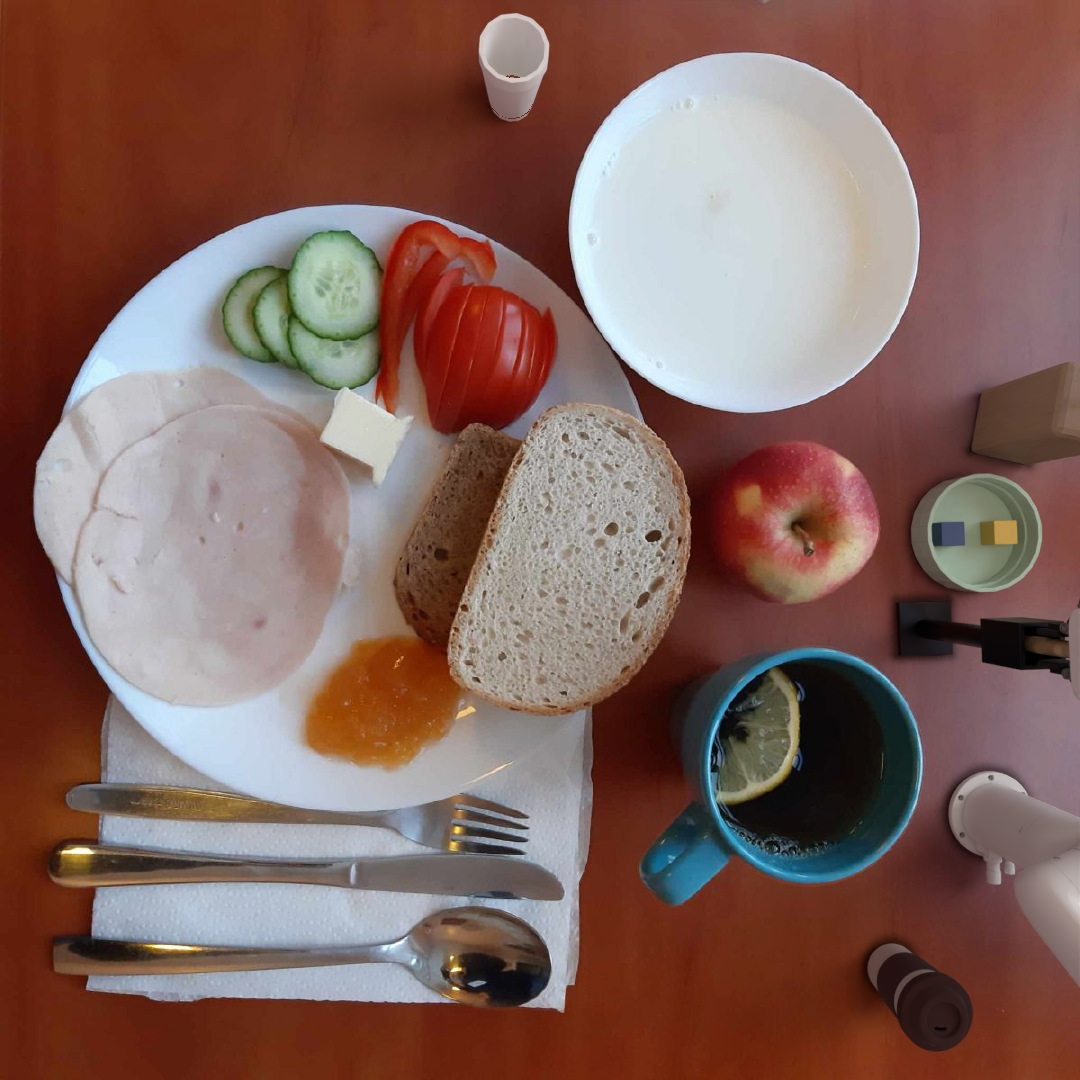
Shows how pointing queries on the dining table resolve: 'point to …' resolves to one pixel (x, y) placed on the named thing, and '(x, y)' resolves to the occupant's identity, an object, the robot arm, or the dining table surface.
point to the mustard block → (999, 532)
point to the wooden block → (1031, 417)
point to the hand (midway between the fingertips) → (1049, 646)
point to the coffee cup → (921, 998)
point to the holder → (968, 635)
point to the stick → (1047, 646)
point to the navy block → (948, 534)
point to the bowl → (977, 533)
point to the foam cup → (513, 63)
